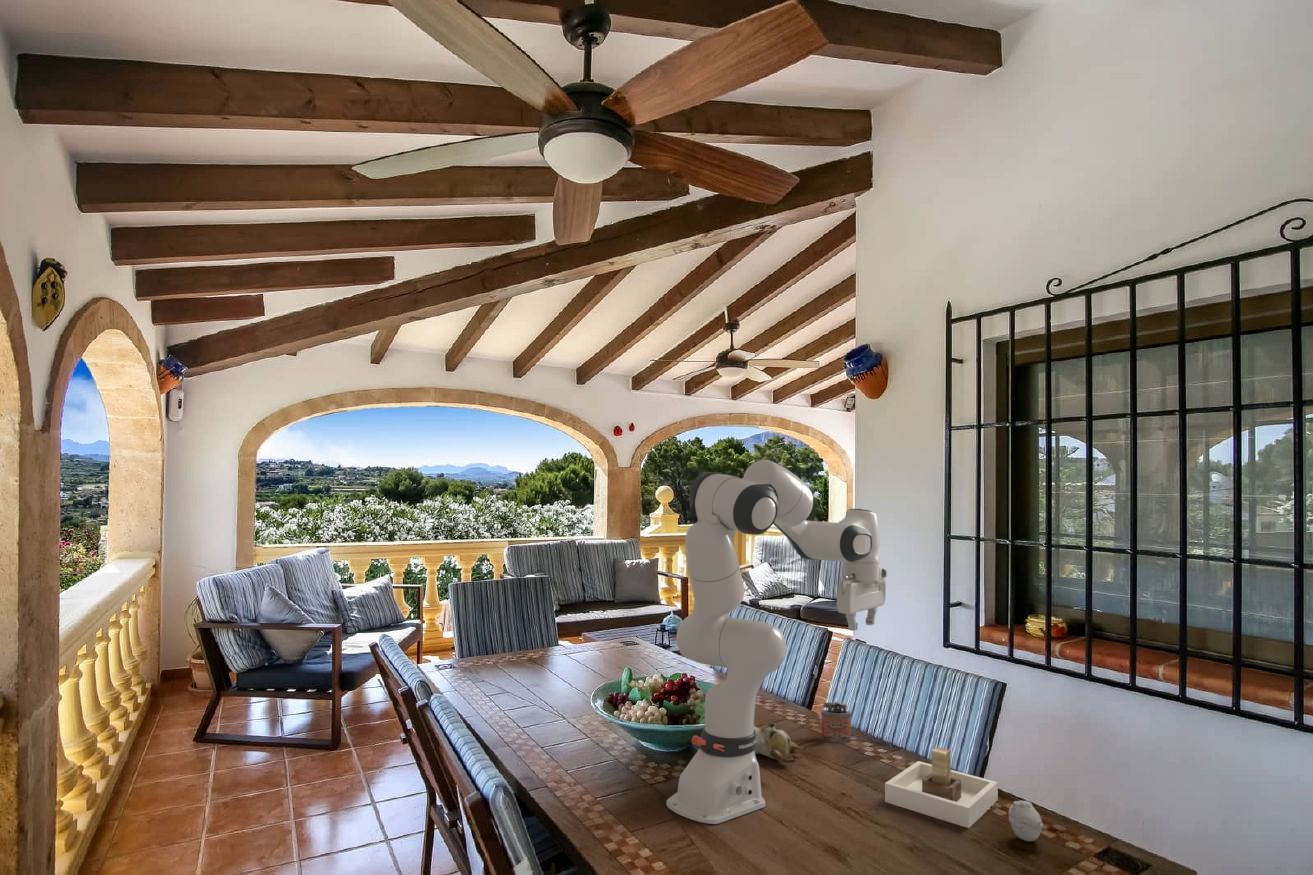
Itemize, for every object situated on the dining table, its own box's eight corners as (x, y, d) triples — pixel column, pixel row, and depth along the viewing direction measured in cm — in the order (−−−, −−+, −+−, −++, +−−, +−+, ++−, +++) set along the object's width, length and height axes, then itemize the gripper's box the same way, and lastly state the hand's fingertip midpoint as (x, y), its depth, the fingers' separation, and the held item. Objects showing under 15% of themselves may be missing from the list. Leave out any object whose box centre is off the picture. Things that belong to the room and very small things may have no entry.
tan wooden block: (945, 800, 163) (945, 753, 163) (932, 796, 165) (931, 750, 165) (950, 796, 165) (950, 750, 165) (937, 792, 167) (936, 747, 167)
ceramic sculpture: (754, 712, 198) (809, 725, 191) (752, 744, 198) (807, 759, 191) (739, 723, 189) (796, 738, 181) (737, 758, 188) (794, 774, 181)
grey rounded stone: (1031, 830, 151) (1030, 795, 152) (1050, 848, 144) (1050, 811, 145) (1001, 831, 151) (1001, 795, 151) (1019, 848, 144) (1019, 811, 144)
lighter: (850, 738, 204) (850, 701, 205) (852, 742, 201) (852, 705, 201) (820, 737, 205) (820, 700, 205) (821, 741, 202) (821, 703, 202)
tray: (968, 828, 152) (968, 805, 152) (885, 801, 164) (884, 780, 164) (997, 800, 165) (997, 779, 166) (918, 778, 177) (918, 758, 178)
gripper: (853, 577, 181) (853, 635, 180) (890, 570, 196) (890, 623, 195) (830, 575, 185) (830, 631, 184) (867, 568, 200) (868, 620, 200)
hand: (861, 627), depth 190 cm, fingers open, 8 cm apart
